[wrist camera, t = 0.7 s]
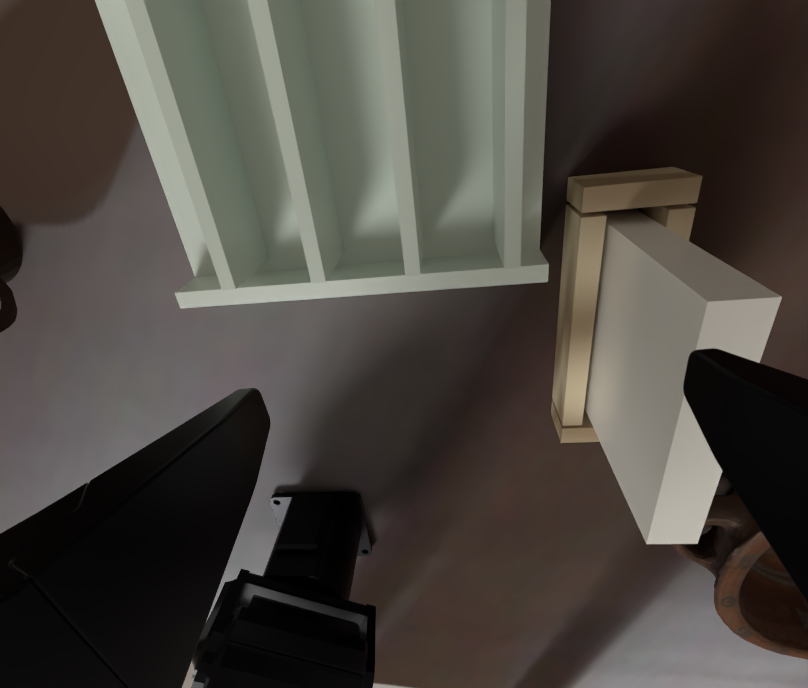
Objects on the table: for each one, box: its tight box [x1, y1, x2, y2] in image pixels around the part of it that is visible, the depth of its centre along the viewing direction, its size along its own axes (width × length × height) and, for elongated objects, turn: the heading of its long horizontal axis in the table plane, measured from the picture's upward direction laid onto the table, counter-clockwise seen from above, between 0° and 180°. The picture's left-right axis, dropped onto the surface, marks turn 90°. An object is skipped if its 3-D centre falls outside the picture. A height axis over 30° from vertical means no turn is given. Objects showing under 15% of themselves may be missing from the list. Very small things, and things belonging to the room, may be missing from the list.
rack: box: [95, 0, 551, 308], centre depth 17 cm, size 14×17×5 cm
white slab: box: [584, 209, 782, 544], centre depth 18 cm, size 10×2×10 cm, turn 6°
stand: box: [551, 167, 703, 443], centre depth 21 cm, size 13×4×2 cm, turn 6°
